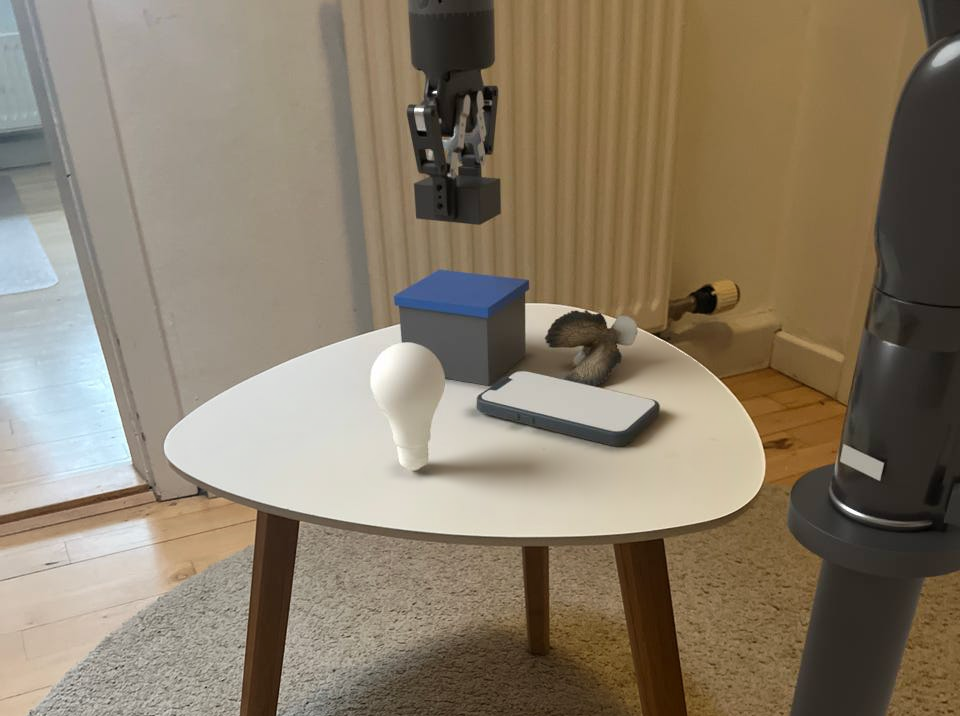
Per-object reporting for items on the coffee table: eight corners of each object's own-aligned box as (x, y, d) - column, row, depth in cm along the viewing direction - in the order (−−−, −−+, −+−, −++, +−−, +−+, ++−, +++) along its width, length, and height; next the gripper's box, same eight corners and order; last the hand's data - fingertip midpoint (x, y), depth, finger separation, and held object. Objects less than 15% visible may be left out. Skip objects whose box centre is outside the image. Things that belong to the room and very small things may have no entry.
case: (501, 213, 96) (500, 178, 94) (480, 225, 93) (479, 188, 91) (438, 207, 99) (436, 173, 97) (415, 218, 95) (413, 183, 93)
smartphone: (663, 416, 93) (517, 382, 100) (665, 400, 92) (517, 367, 99) (623, 453, 87) (470, 414, 94) (624, 436, 86) (470, 398, 93)
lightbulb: (408, 447, 89) (399, 326, 82) (463, 464, 86) (458, 339, 79) (364, 474, 85) (351, 349, 78) (420, 492, 82) (411, 364, 75)
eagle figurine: (563, 340, 106) (527, 352, 99) (603, 286, 102) (568, 294, 95) (613, 388, 105) (581, 403, 98) (656, 336, 101) (625, 348, 94)
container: (529, 355, 106) (529, 279, 101) (490, 387, 99) (488, 308, 94) (443, 342, 110) (439, 269, 105) (399, 372, 103) (393, 295, 98)
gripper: (450, 13, 79) (459, 235, 89) (524, -2, 89) (524, 200, 99) (371, 12, 82) (388, 228, 92) (451, -2, 92) (458, 194, 102)
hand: (458, 212), depth 95 cm, fingers closed on case, 4 cm apart
